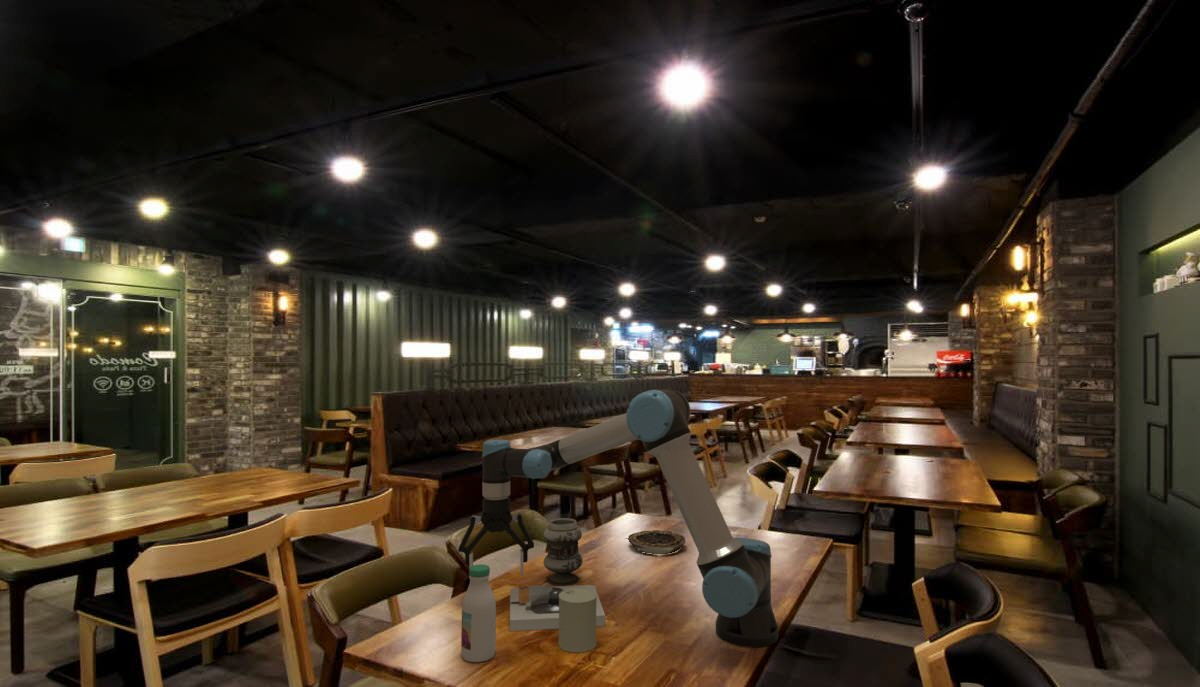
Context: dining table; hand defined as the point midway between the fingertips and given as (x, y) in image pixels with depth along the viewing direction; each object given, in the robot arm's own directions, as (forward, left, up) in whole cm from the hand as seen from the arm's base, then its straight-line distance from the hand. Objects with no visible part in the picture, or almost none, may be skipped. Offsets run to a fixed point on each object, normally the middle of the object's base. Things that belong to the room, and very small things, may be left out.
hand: (496, 575), depth 170 cm
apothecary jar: (+20, -20, -9) cm, 30 cm away
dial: (-4, -14, -7) cm, 16 cm away
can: (-24, -20, -9) cm, 32 cm away
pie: (+49, -56, -10) cm, 75 cm away
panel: (-4, -16, -9) cm, 18 cm away
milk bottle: (-27, +3, -9) cm, 28 cm away
